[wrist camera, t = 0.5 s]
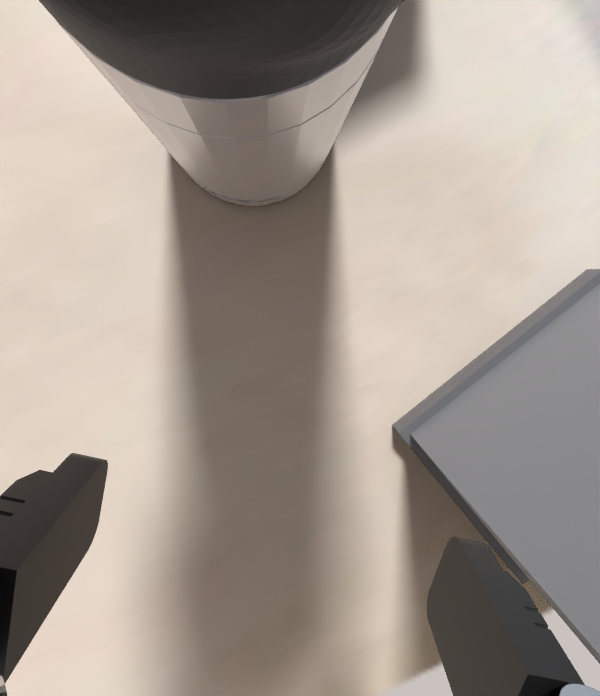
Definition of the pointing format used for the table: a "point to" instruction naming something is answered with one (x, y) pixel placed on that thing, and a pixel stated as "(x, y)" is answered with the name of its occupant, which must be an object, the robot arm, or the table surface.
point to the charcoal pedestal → (529, 450)
